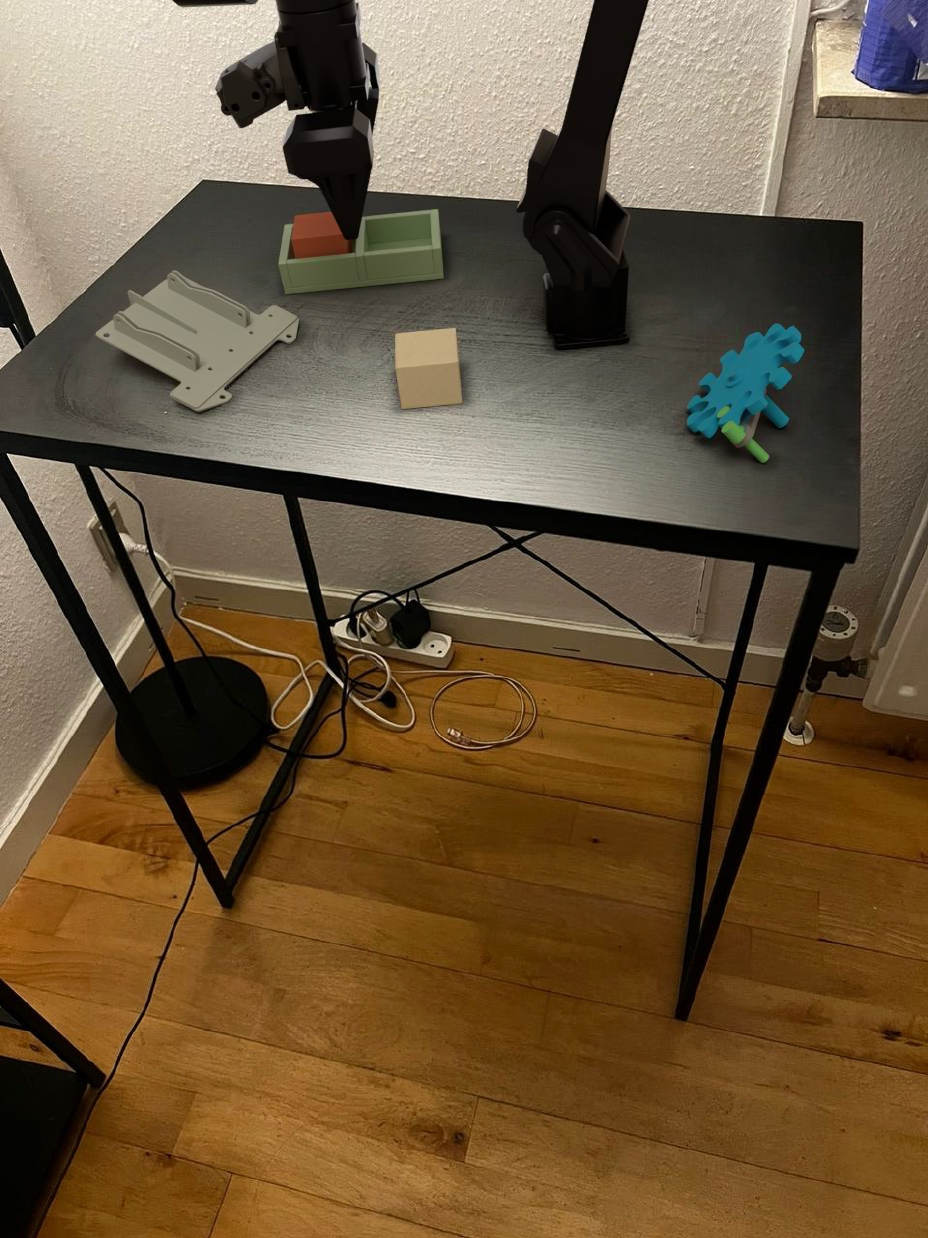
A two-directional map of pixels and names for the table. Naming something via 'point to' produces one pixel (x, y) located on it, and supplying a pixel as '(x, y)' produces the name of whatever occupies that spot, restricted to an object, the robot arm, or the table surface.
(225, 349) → the metal bracket
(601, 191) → the robot arm
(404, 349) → the tan block
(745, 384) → the gear
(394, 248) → the green divided tray
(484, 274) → the table surface
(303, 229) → the terracotta block
